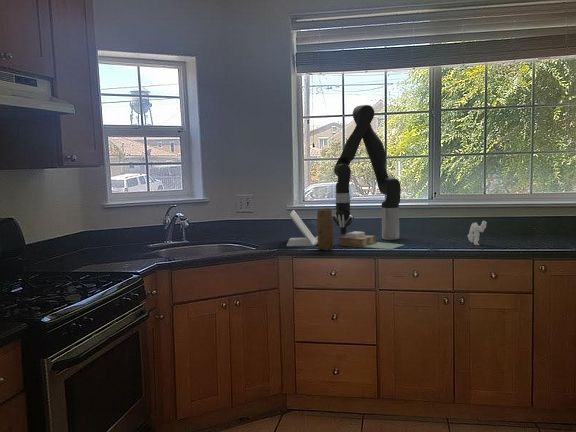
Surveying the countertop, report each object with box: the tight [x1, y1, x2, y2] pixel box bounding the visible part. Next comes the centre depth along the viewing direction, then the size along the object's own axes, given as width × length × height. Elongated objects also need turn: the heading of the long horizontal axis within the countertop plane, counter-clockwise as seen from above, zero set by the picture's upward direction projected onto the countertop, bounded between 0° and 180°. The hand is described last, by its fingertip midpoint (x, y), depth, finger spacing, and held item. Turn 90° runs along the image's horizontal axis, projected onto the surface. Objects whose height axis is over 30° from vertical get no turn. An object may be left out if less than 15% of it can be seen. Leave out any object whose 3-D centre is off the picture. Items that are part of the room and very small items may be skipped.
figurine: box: [467, 220, 488, 246], centre depth 260 cm, size 10×5×12 cm, turn 33°
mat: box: [362, 241, 405, 251], centre depth 263 cm, size 15×16×1 cm
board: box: [337, 234, 377, 248], centre depth 271 cm, size 14×14×4 cm
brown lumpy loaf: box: [316, 208, 334, 251], centre depth 260 cm, size 11×8×20 cm
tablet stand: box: [285, 209, 318, 247], centre depth 283 cm, size 18×25×17 cm
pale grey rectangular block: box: [345, 231, 366, 238], centre depth 271 cm, size 9×6×2 cm, turn 141°
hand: (343, 234), depth 276 cm, fingers closed
